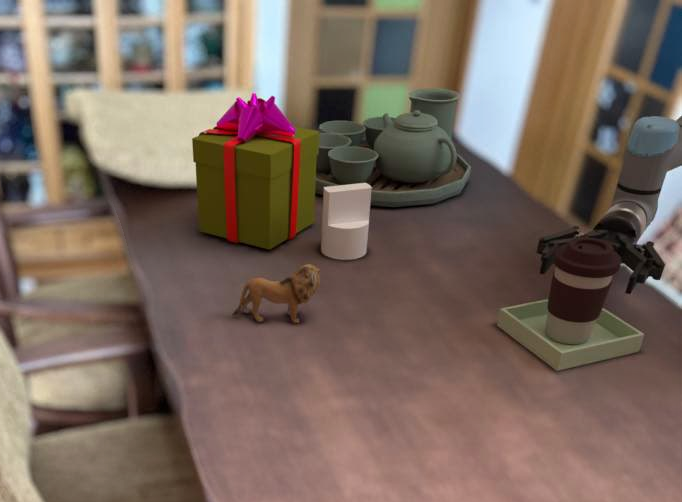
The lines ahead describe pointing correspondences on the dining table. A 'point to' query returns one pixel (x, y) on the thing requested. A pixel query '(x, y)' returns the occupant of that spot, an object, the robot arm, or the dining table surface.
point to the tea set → (397, 153)
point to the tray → (603, 344)
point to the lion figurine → (281, 291)
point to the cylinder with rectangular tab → (345, 221)
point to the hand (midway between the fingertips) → (585, 275)
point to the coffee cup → (579, 288)
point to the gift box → (255, 175)
